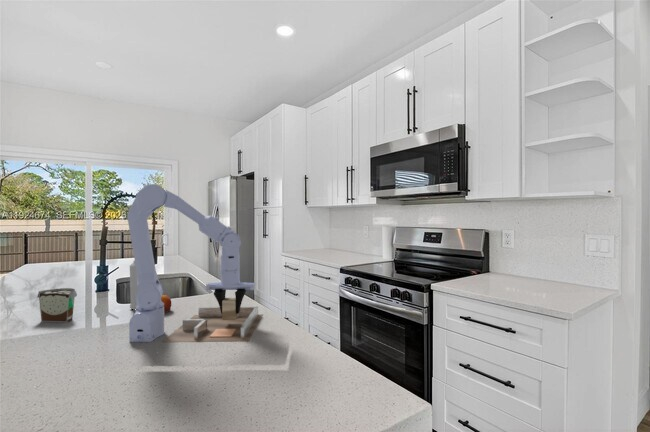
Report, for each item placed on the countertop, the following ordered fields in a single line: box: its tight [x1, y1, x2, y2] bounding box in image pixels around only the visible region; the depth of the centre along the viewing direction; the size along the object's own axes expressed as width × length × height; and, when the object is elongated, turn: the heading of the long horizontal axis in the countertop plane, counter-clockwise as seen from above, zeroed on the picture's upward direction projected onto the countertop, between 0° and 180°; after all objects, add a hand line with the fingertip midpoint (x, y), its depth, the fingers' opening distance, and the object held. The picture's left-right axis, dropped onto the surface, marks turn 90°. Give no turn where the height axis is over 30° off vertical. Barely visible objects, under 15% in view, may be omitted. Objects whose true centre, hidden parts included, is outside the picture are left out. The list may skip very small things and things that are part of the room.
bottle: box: [129, 259, 138, 310], centre depth 125 cm, size 5×5×25 cm
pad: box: [210, 329, 236, 337], centre depth 96 cm, size 6×6×1 cm
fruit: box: [161, 294, 172, 315], centre depth 117 cm, size 8×8×8 cm
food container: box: [36, 287, 78, 323], centre depth 113 cm, size 12×6×10 cm, turn 84°
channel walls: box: [182, 306, 259, 339], centre depth 102 cm, size 21×20×3 cm
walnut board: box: [161, 314, 264, 343], centre depth 102 cm, size 24×24×1 cm
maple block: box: [222, 297, 238, 320], centre depth 104 cm, size 4×4×6 cm
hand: (230, 312), depth 104 cm, fingers closed on maple block, 4 cm apart
